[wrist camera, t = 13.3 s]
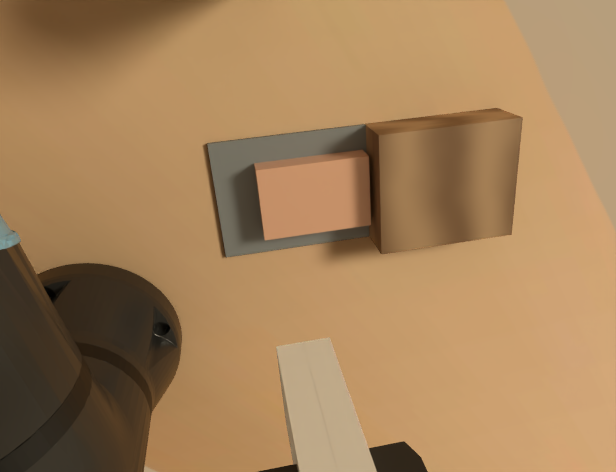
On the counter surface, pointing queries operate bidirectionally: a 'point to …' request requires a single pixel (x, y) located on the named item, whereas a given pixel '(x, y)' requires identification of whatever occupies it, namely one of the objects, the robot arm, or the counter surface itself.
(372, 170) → the brown wooden flat block
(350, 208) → the salmon orange flat block
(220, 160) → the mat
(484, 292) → the counter surface
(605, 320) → the counter surface
